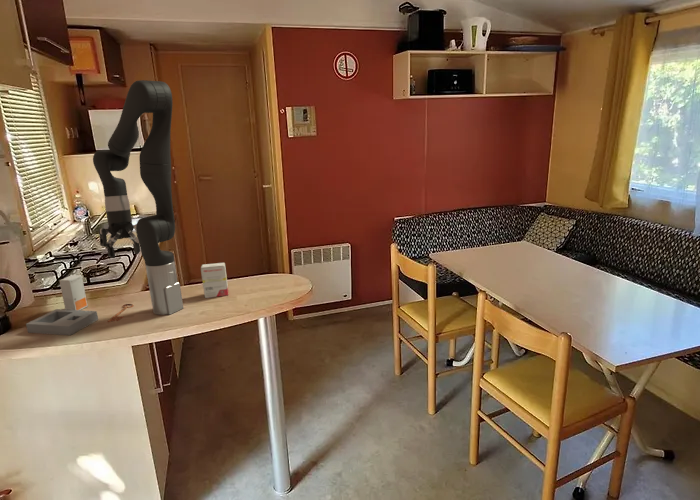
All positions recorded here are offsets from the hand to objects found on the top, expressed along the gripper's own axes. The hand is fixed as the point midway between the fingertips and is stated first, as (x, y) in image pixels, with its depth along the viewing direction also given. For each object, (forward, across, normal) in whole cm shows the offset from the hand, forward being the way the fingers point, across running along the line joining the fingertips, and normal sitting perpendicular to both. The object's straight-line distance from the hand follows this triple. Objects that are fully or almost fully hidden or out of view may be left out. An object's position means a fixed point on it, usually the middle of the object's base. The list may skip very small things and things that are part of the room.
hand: (125, 255), depth 161 cm
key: (+20, -4, -1) cm, 20 cm away
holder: (+20, -21, +6) cm, 29 cm away
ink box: (+19, +25, -15) cm, 34 cm away
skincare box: (+18, -11, +17) cm, 28 cm away
